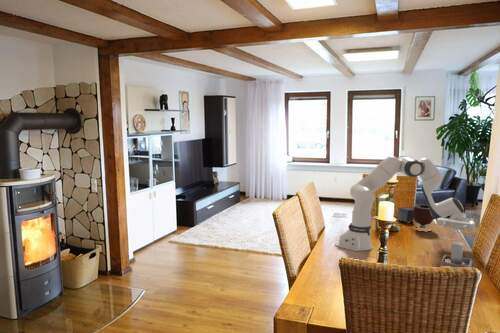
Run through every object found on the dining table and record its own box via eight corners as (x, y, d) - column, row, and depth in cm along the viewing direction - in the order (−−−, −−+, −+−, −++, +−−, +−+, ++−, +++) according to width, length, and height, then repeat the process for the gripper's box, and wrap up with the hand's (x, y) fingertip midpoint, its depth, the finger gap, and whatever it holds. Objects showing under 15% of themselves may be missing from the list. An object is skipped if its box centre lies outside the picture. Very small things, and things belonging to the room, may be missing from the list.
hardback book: (385, 230, 282) (386, 197, 279) (375, 229, 286) (376, 196, 283) (392, 225, 297) (393, 193, 294) (382, 223, 301) (383, 192, 298)
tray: (440, 268, 210) (440, 261, 210) (443, 260, 222) (444, 254, 221) (470, 273, 203) (470, 267, 202) (472, 265, 214) (472, 259, 214)
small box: (413, 222, 303) (414, 209, 302) (407, 223, 301) (407, 210, 299) (403, 219, 313) (404, 206, 312) (397, 220, 310) (397, 207, 309)
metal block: (450, 265, 211) (451, 243, 210) (451, 262, 216) (452, 241, 214) (461, 267, 209) (462, 245, 207) (461, 264, 213) (463, 242, 211)
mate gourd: (422, 226, 293) (423, 199, 291) (437, 231, 280) (439, 203, 278) (406, 228, 287) (407, 201, 285) (421, 233, 274) (422, 205, 272)
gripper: (438, 214, 244) (434, 218, 232) (476, 219, 232) (474, 223, 221) (437, 223, 244) (433, 228, 233) (475, 229, 233) (473, 234, 222)
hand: (453, 226), depth 227 cm, fingers open, 8 cm apart
